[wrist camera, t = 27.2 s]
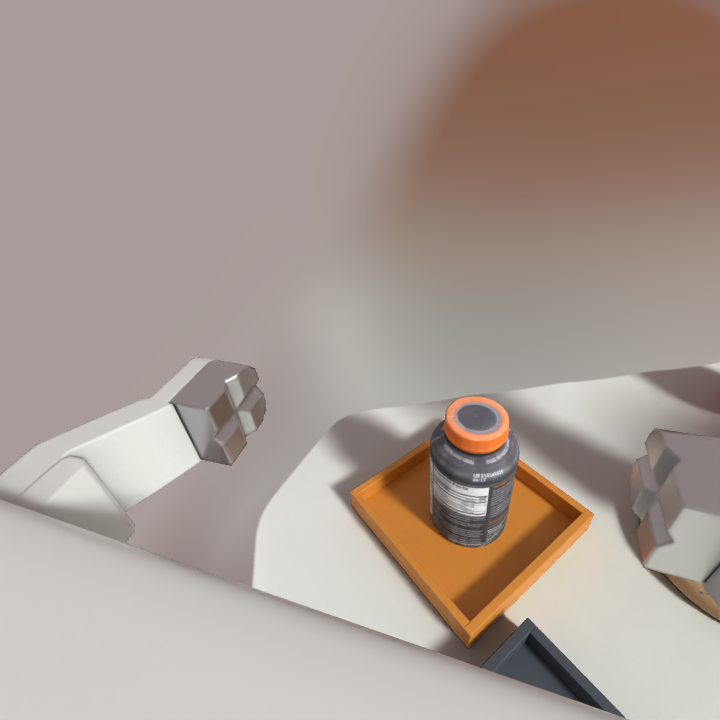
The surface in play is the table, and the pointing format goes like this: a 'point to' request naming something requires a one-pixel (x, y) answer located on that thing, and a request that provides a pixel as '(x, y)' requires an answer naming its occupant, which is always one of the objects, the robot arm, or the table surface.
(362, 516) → the amber tray
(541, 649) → the slate tray
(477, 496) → the pill bottle
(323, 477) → the table surface
